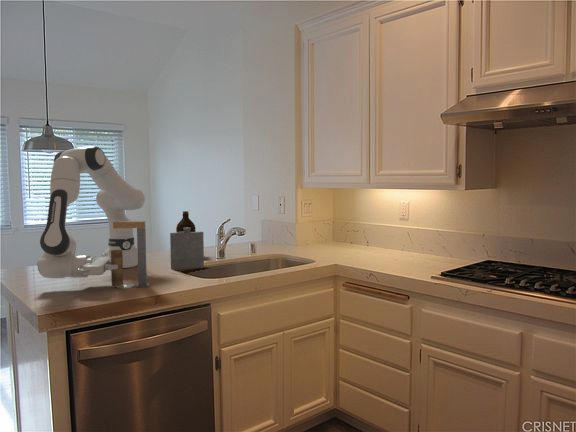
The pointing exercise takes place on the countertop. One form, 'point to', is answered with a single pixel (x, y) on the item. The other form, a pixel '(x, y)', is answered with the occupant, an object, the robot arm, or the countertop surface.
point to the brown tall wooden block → (118, 273)
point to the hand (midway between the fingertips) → (119, 265)
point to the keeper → (140, 249)
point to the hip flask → (187, 249)
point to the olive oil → (185, 223)
